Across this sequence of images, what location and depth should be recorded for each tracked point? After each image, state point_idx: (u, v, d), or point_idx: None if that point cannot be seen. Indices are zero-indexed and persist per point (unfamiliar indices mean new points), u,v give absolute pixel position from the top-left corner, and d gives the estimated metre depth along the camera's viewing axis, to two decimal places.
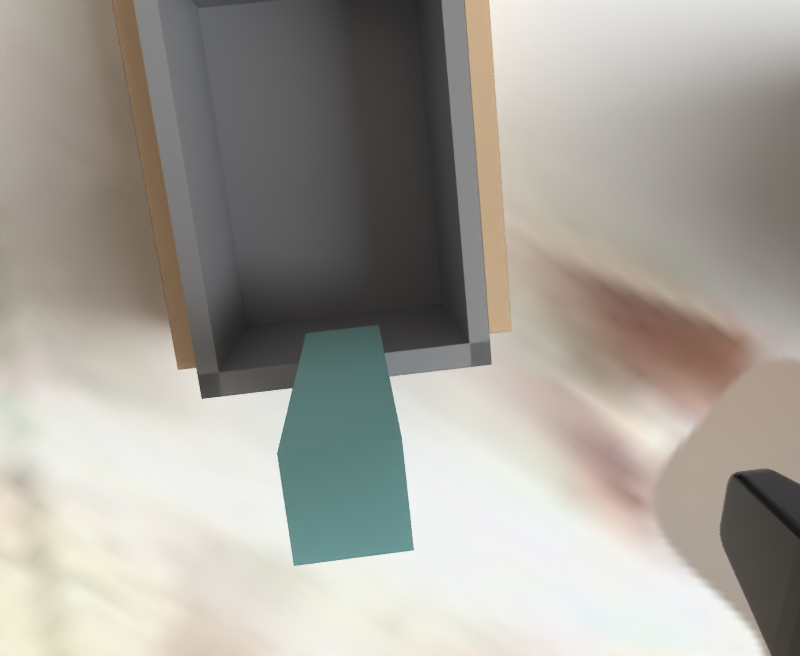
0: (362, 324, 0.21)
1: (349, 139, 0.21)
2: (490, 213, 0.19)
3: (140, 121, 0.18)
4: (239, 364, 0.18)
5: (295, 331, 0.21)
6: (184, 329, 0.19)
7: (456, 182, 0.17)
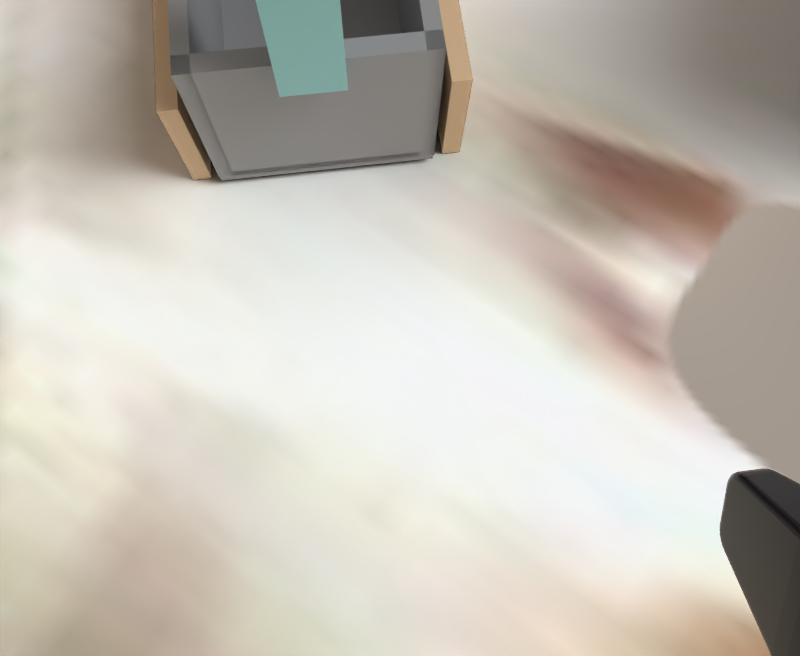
0: None
1: None
2: None
3: None
4: None
5: None
6: (167, 78, 0.20)
7: None
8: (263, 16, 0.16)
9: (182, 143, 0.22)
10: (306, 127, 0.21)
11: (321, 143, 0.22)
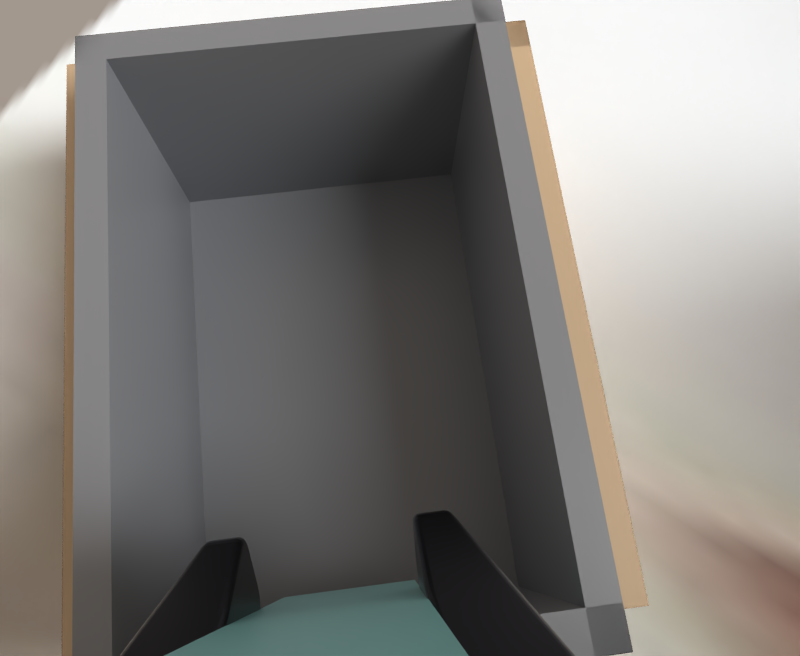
0: None
1: (372, 347, 0.16)
2: (586, 405, 0.12)
3: None
4: None
5: None
6: None
7: (532, 327, 0.11)
8: None
9: None
10: None
11: None
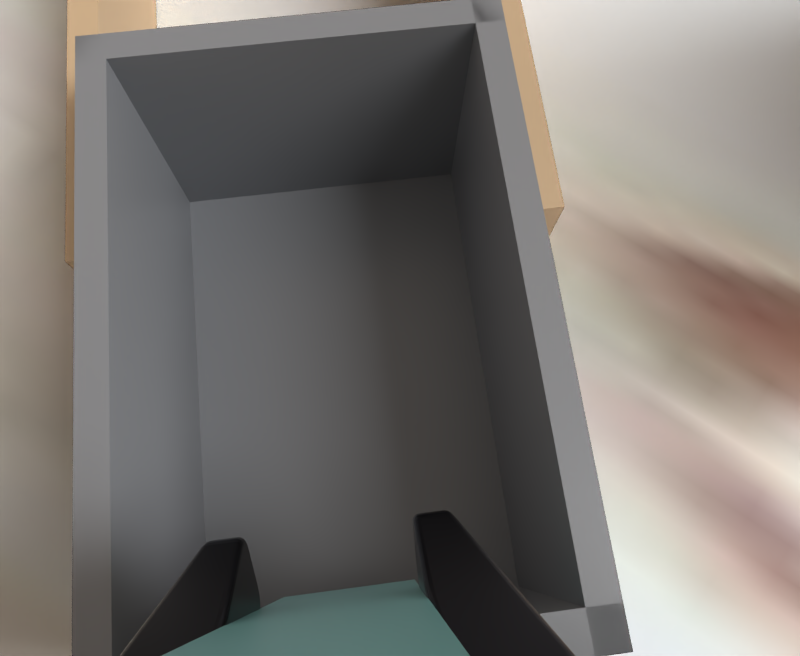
0: None
1: (372, 346, 0.16)
2: (515, 60, 0.14)
3: None
4: None
5: None
6: None
7: (532, 327, 0.11)
8: None
9: None
10: None
11: None
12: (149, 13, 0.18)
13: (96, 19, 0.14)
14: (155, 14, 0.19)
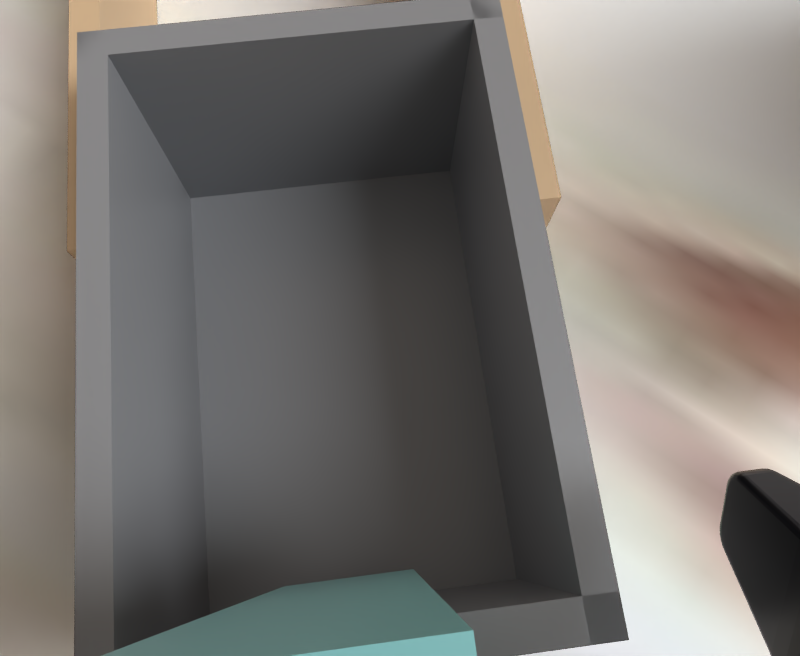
0: None
1: (372, 341, 0.16)
2: (513, 52, 0.14)
3: None
4: None
5: None
6: None
7: (529, 319, 0.11)
8: None
9: None
10: None
11: None
12: (150, 8, 0.18)
13: (98, 12, 0.14)
14: (156, 9, 0.19)
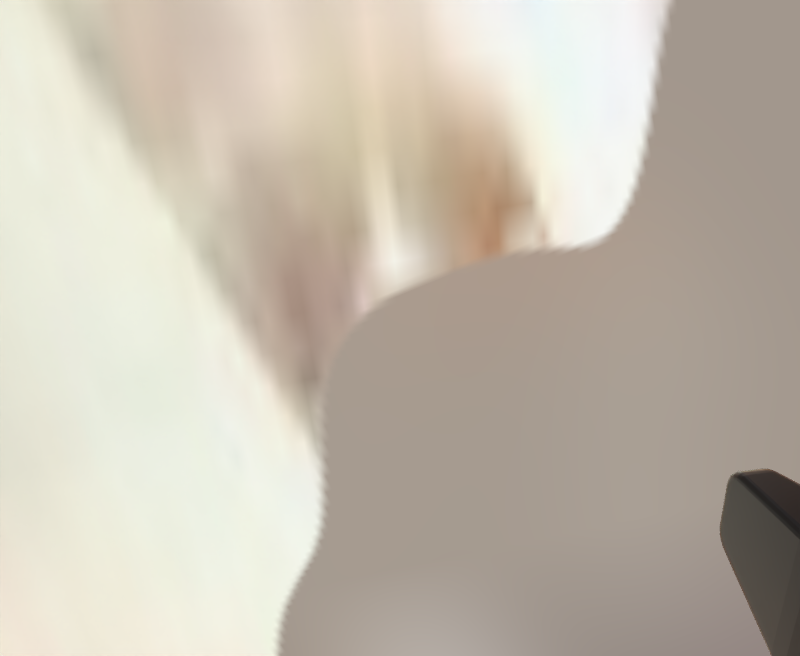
0: None
1: None
2: None
3: None
4: None
5: None
6: None
7: None
8: None
9: None
10: None
11: None
12: None
13: None
14: None
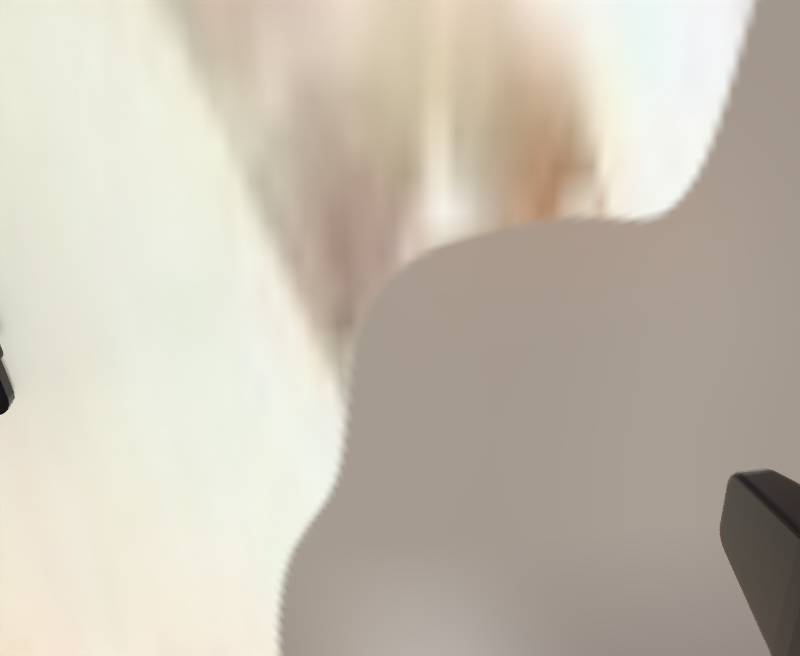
0: None
1: None
2: None
3: None
4: None
5: None
6: None
7: None
8: None
9: None
10: None
11: None
12: None
13: None
14: None
